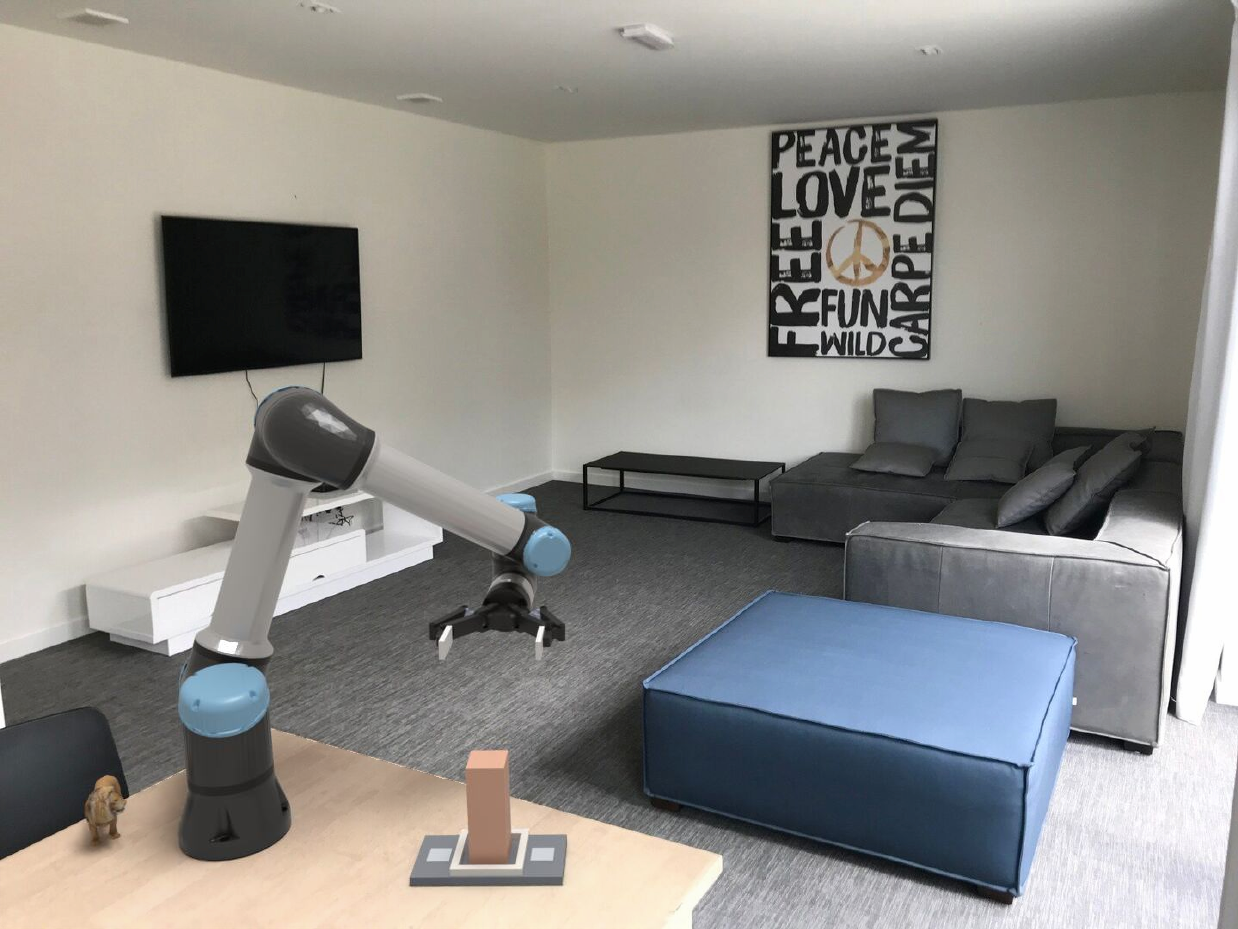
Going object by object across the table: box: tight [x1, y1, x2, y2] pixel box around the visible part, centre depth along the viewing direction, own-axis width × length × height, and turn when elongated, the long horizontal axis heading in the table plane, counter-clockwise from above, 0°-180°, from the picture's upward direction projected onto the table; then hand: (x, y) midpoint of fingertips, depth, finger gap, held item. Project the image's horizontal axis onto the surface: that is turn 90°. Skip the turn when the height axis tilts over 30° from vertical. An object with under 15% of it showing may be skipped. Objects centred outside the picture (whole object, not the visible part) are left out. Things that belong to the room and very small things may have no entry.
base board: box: [409, 828, 568, 887], centre depth 134 cm, size 20×10×2 cm, turn 89°
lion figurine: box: [84, 774, 128, 846], centre depth 143 cm, size 15×5×9 cm, turn 31°
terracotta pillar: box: [464, 749, 512, 865], centre depth 132 cm, size 5×5×14 cm
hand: (489, 651), depth 138 cm, fingers open, 13 cm apart
